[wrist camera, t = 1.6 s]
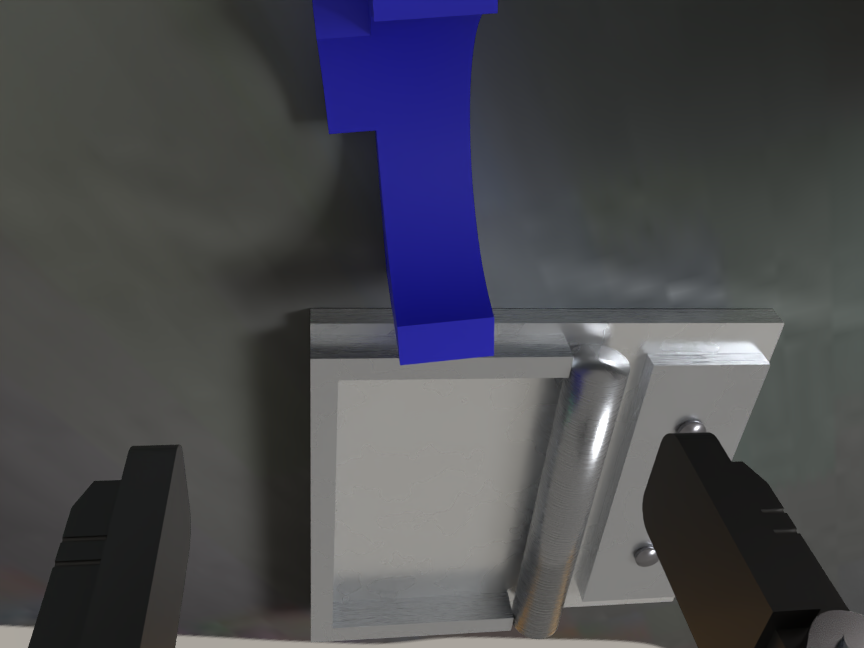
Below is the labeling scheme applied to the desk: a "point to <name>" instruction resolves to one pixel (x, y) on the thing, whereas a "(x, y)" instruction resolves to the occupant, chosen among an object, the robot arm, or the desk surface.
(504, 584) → the hinge plate
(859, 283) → the desk surface
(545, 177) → the desk surface
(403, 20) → the blue stepped long block
